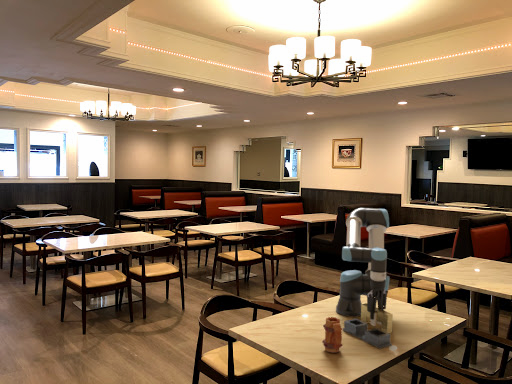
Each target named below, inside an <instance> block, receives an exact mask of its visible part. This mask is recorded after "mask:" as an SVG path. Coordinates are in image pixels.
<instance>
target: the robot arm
mask: <svg viewBox="0 0 512 384" xmlns="http://www.w3.org/2000/svg"><path fill="white" fill-rule="evenodd" d="M345 225H346V227H347V228H346V229H347V230H346V244H345V245H346V246H342V249H341V250H342V251H341V259H342V260H343V261H347V262H357V263H359V262H360V263H368V265H367V266H368V267H367V269H366V270H365V272H364V273H365V274H364V273H362V271H361V270H357V269H353V270H351V269H350V270H345V271H343V272H341V274H340V277H339V278H340V279H339V282H340V283H339V298H338V301H337V304H336V306H335V311H336V313H337V314H339V315H341V316H345V317H361V304H363V302H362V300H361V297H362V296H365V297H366V302H367V311H368V312H370V319H371V322H369V323H370V325H372V327H376V326H377V325H376V324H378V325H382V323H381V322H379V321H376V313H375V309H376V308H379V309H381V310H384V311H385V310H386V308H387V300H388V298H387V297H388V293H389V287H390V276H389V275H387V274H388V273H387V258H388V252H387V249H385V232H387V229H388V228H390V217H389V213H388V210H387V209H385V208H380V207H379V208H373V207H358V208H355V209H354V210H352V211H351V212H350V213H348V215H347V217H346V220H345ZM361 228H366V231H367V232H368V247H361Z"/></svg>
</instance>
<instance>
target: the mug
mask: <svg viewBox="0 0 512 384" xmlns="http://www.w3.org/2000/svg"><path fill="white" fill-rule="evenodd" d="M323 330H325V331H324V332H325V333H324V334H325V335H324V339H323V340H321V341H322V345H323V346H324V350H325V351H326V352H328V353H339V352H340V349H341V348H342V347H343V343H342V341H343V340H342V338H343V335H342V331H343V328H342V325H341V321H340V319H339V318H337V317H336V316H335V317H334V316H331V317H329V316H328V317H326V318H325V324H323Z"/></svg>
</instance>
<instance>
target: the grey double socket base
mask: <svg viewBox="0 0 512 384" xmlns="http://www.w3.org/2000/svg"><path fill="white" fill-rule="evenodd" d="M343 326H344V327H343V328H342V331H343V332H345V333H348V334H350V335H351V336H353V337H356V338H357V339H359V340H361V341H363V342H366V343H367V344H369V345H371V346H372V347H375V348H377V349H379V350H381V349H383V348H387V347H391V346H392V342H391V333H387V332H385V331H383V330H381V329H382V328H381V329H380V328H378V327H376V328H372V329H369V328H368V327H369V324H368V323H365V322H363V321H361V319H359V318H352V319H348V320H344V325H343ZM368 329H369V330H368Z"/></svg>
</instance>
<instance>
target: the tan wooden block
mask: <svg viewBox="0 0 512 384" xmlns="http://www.w3.org/2000/svg"><path fill="white" fill-rule="evenodd" d="M375 313H376V321H379V322H381V330H383V331H385V332H387V333H389V334H391V333H392V332H393V316H394V314H393V313H390V312H387V311H385V310H381V309H379V308H378V307H376V309H375ZM360 320H361V321H363V322H365V323H367V324H368V323H371V319H370V312H368V311H367V303H366V302H365V303H362V304H361V316H360Z"/></svg>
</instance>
